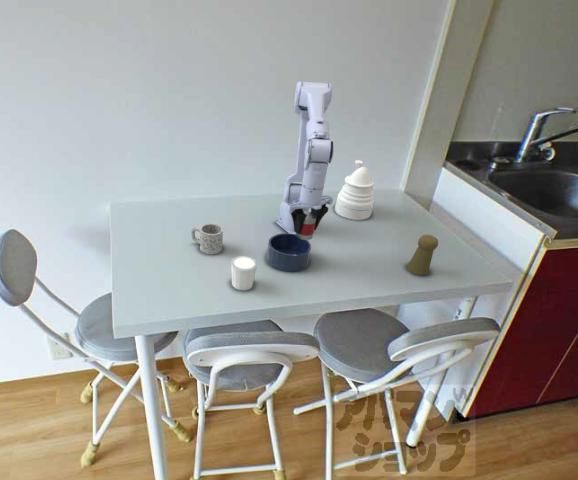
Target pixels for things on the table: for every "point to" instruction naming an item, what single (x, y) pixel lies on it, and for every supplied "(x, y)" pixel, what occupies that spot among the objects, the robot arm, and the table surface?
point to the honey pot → (356, 195)
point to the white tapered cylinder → (243, 272)
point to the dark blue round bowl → (288, 252)
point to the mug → (209, 238)
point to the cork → (423, 255)
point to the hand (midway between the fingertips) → (304, 230)
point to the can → (307, 227)
